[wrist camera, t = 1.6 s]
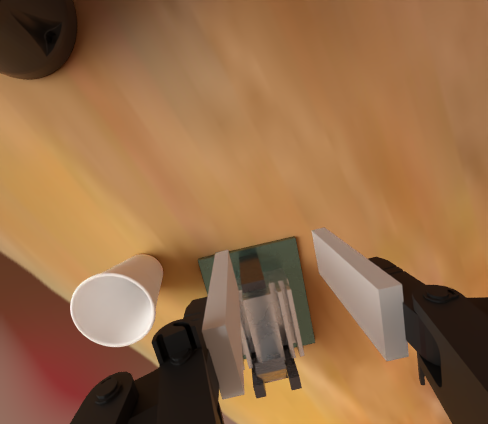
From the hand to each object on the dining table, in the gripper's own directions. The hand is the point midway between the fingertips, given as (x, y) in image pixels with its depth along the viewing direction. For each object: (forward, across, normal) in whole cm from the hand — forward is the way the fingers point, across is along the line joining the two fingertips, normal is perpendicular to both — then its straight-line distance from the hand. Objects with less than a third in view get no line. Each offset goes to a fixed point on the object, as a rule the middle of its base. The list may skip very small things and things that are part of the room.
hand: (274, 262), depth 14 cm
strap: (+13, -2, -19) cm, 23 cm away
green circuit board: (+25, -2, -18) cm, 31 cm away
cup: (+25, -19, -8) cm, 32 cm away
